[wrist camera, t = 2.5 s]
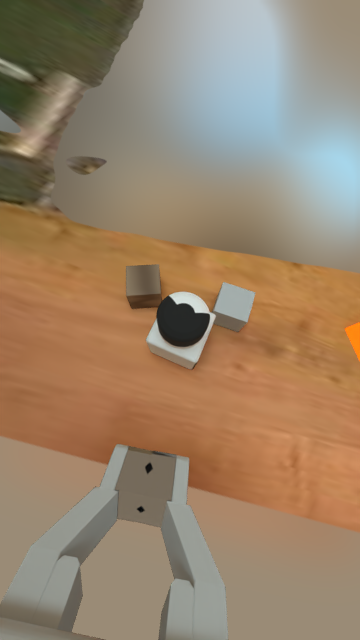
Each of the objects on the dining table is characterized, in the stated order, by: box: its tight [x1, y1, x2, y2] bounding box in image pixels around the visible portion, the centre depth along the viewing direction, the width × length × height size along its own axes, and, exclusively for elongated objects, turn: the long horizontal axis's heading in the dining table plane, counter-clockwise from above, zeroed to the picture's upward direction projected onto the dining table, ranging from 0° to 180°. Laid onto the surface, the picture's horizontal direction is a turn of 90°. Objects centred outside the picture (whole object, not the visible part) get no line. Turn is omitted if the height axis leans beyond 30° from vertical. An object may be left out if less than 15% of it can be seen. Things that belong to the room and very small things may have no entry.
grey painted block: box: [212, 282, 255, 332], centre depth 36 cm, size 5×5×5 cm
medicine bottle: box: [146, 292, 216, 370], centre depth 31 cm, size 7×7×12 cm
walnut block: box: [126, 264, 162, 309], centre depth 37 cm, size 5×5×5 cm
